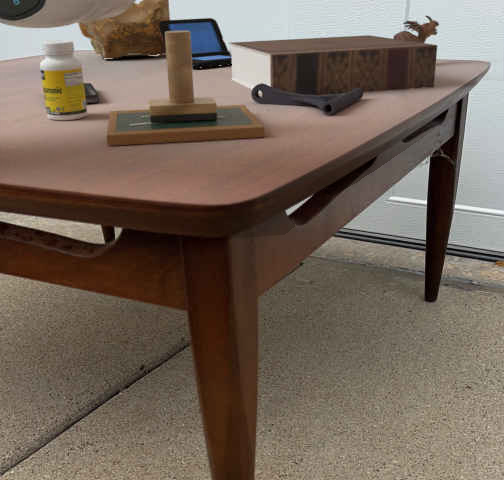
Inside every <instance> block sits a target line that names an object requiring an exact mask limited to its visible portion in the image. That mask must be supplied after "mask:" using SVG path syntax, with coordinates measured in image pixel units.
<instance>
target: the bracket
mask: <svg viewBox="0 0 504 480" xmlns="http://www.w3.org/2000/svg"><path fill="white" fill-rule="evenodd" d="M259 90H260V91H261V92H262V93H261V96H260V95H259V94H260V93H259ZM250 95H251V99H252V100H253V102H255V103H257V104H265V105H267V104H268V105H284V106H285V105H287V106H307V107H318V108H319V109H320V111H322V113H323V114H325V115H326V116H330V115H332V114H334V113H336V112H339V111H340V110H342V109H344V108H346V107H348V106H349V105H352V104H353V103H355V102H358V100H361V99H362V98H363V97H364V92H363V90H362V89H361V88H356V89H354V90H352V91H350V92H348V93H345V94H331V95H304V94H298V93H292V92H286V91H283V90H280V89H277V88H274V87H271V86H268V85H266V84H263V83H261V84H258V85H256V86H255V87H254V88H253V89H251V94H250Z"/></svg>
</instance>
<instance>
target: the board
mask: <svg viewBox="0 0 504 480" xmlns="http://www.w3.org/2000/svg"><path fill="white" fill-rule="evenodd" d="M108 118H109V119H108V124H107V131H106V142H107V147H113V146H129V145H131V146H132V145H134V146H135V145H148V144H151V145H152V144H165V143H167V144H169V143H183V142H185V143H187V142H204V141H205V142H206V141H218V140H219V141H220V140H222V141H223V140H238V139H239V140H241V139H258V138H259V139H260V138H265V137H266V127H265V126H264V125H263V124H262V123H261V121H260V120H259V119H258V118H257V117H256V116H255V115H254V114H253V113H252V112H251V111H250V109H249V108H248V107H247V106H246V105H245V104H232V105H231V104H229V105H217V120H201V121H181V122H161V123H151V119H150V108H148V109H131V110H130V109H129V110H110V112H109V117H108Z"/></svg>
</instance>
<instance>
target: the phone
mask: <svg viewBox="0 0 504 480" xmlns="http://www.w3.org/2000/svg"><path fill="white" fill-rule="evenodd" d="M84 90H85V98H86V104H94V103H95V104H96V103H100V96H99V95H100V94H99V92H98V91H97V90H96V88H95V87H94V85H93V84H92V83H91V82H84Z"/></svg>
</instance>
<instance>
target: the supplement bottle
mask: <svg viewBox="0 0 504 480" xmlns="http://www.w3.org/2000/svg"><path fill="white" fill-rule="evenodd" d="M41 47H42V52H43V54H44V56H45V59H44V58H43V60H41V61H40V63H39V69H40V77H41V83H42V84H41V85H42V88H43V89H42V90H43V98H44V103H45V111H46V115H47V118H48V119H50V120H51V121H52V120H53V121H74V120H80V119H84V118H86V117H87V116H88V107H87V106H88V105H87V103H86V98H85V90H84V83H85V82H84V75H83V67H82V61H80V59H78V58H77V57H74V53H75V47H74V41H73V40H47V41H42V42H41Z"/></svg>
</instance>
